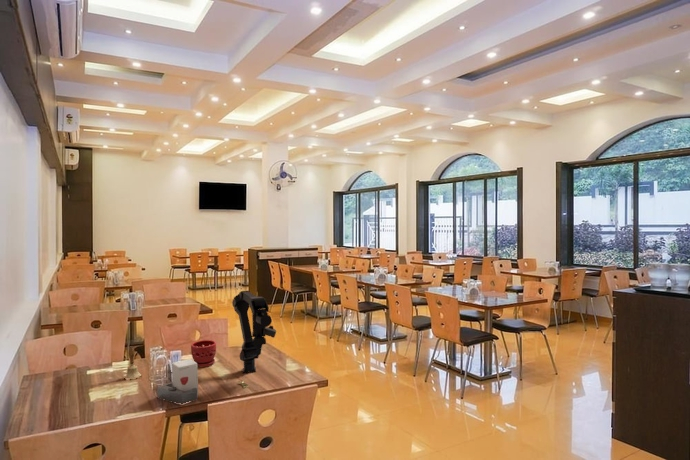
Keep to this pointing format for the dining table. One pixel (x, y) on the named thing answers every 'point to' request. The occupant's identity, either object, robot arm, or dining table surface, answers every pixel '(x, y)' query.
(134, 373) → the hand bell
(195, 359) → the plant pot
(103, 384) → the dining table surface
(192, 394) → the coupler mouth
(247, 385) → the brass key
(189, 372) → the supplement box
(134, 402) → the dining table surface
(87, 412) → the dining table surface
